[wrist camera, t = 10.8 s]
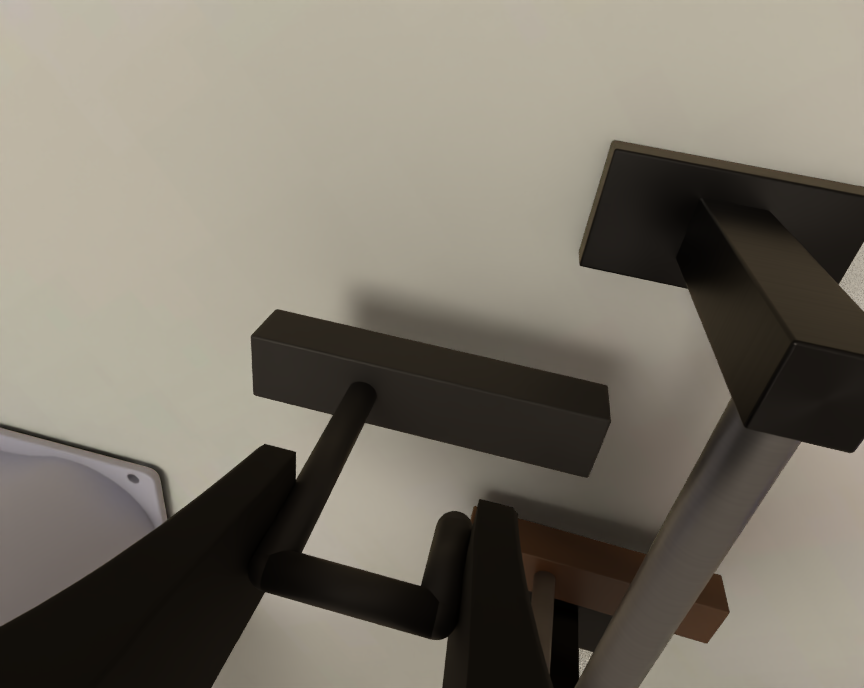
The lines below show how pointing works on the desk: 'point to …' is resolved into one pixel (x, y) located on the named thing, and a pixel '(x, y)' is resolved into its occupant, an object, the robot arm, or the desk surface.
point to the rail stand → (724, 364)
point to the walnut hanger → (597, 580)
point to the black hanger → (414, 414)
